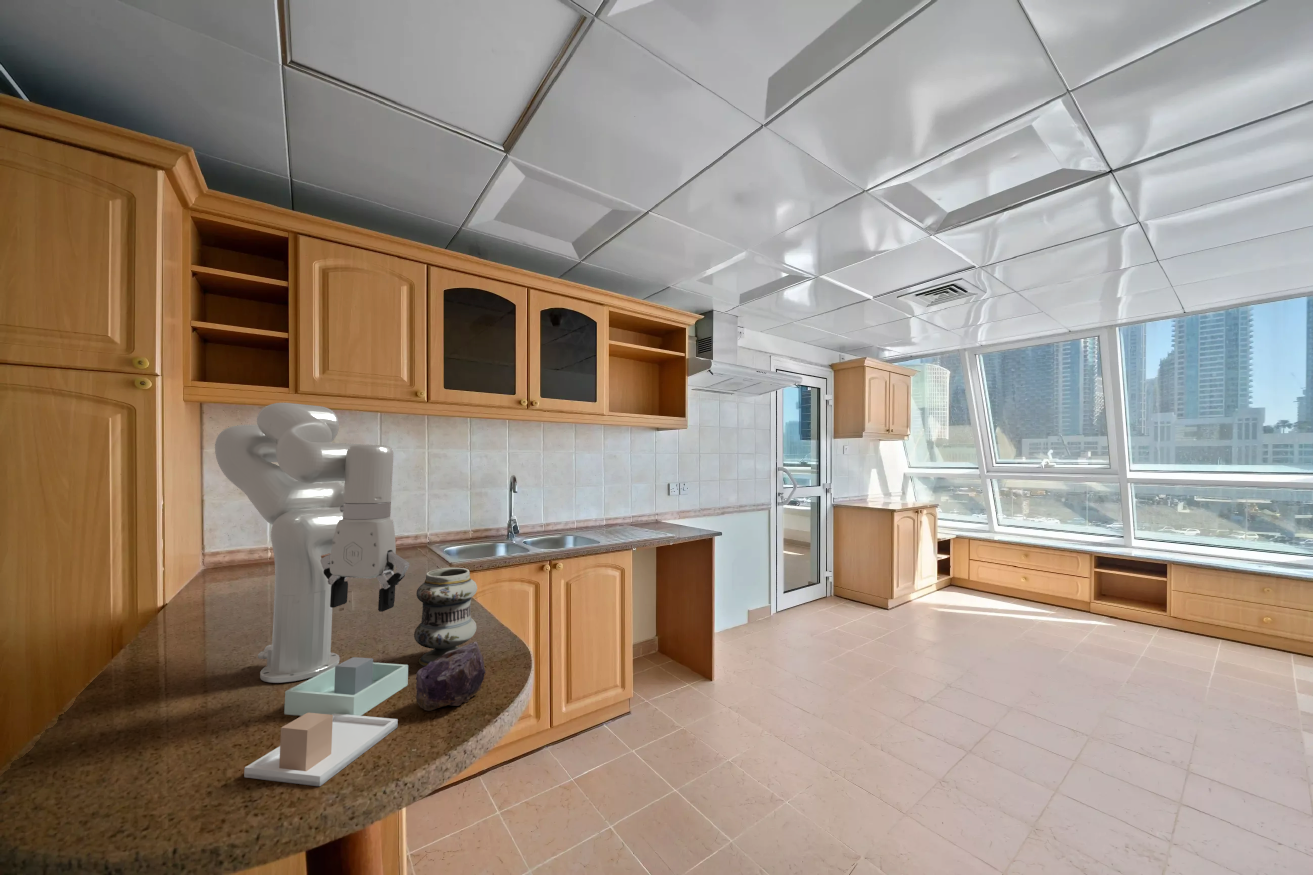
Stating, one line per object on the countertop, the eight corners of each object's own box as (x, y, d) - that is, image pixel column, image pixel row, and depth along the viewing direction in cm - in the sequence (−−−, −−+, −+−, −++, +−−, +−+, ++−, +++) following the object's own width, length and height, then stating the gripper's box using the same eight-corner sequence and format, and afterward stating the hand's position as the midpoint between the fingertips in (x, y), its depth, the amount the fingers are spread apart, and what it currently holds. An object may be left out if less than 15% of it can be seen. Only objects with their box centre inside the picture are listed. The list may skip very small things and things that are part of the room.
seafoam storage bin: (284, 713, 78) (285, 691, 78) (346, 680, 91) (347, 660, 91) (353, 720, 76) (354, 696, 76) (407, 684, 89) (408, 664, 89)
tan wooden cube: (279, 768, 63) (281, 727, 63) (306, 751, 67) (307, 712, 67) (305, 771, 62) (307, 730, 63) (331, 753, 66) (332, 714, 67)
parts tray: (244, 777, 62) (244, 767, 62) (333, 721, 76) (333, 713, 76) (319, 786, 60) (320, 776, 60) (397, 727, 74) (397, 719, 74)
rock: (411, 712, 81) (445, 729, 75) (404, 663, 81) (437, 676, 75) (473, 676, 91) (506, 689, 85) (466, 632, 90) (500, 642, 85)
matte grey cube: (334, 697, 83) (335, 666, 83) (352, 686, 86) (353, 657, 87) (354, 698, 82) (355, 667, 82) (372, 688, 86) (373, 658, 86)
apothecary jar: (447, 673, 93) (449, 579, 95) (399, 665, 97) (402, 575, 98) (487, 651, 105) (489, 567, 106) (443, 644, 109) (445, 564, 110)
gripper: (308, 512, 86) (302, 610, 85) (395, 516, 83) (390, 617, 82) (342, 508, 93) (337, 598, 92) (423, 512, 90) (418, 604, 89)
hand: (362, 607), depth 87 cm, fingers open, 9 cm apart
